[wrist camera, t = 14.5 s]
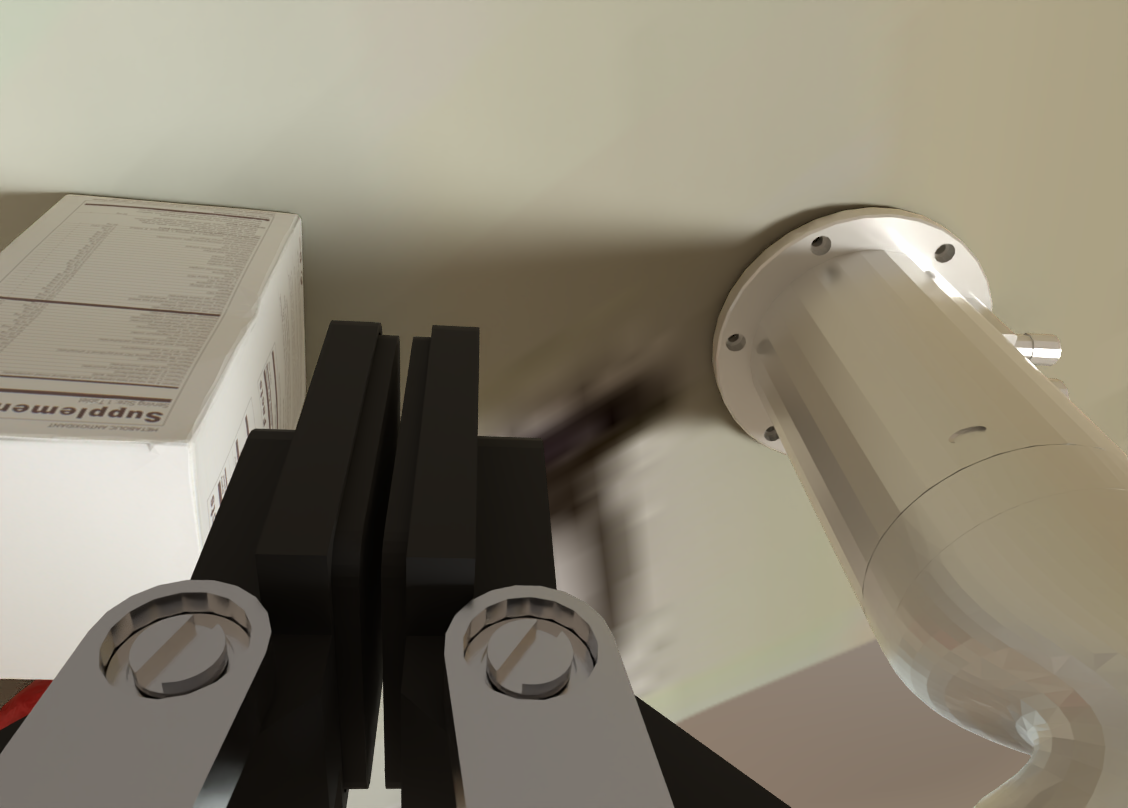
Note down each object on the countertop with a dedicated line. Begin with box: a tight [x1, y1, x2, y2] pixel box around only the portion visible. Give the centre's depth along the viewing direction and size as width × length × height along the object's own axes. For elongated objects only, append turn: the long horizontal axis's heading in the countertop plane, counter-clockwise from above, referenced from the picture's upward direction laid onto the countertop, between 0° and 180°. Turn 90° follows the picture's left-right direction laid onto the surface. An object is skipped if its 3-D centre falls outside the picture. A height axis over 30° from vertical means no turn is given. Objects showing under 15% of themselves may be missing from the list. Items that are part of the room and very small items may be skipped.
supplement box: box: [0, 194, 306, 680], centre depth 32 cm, size 10×9×17 cm
